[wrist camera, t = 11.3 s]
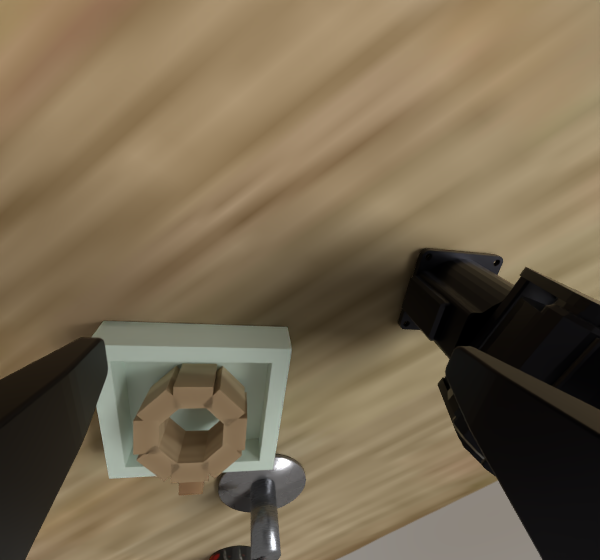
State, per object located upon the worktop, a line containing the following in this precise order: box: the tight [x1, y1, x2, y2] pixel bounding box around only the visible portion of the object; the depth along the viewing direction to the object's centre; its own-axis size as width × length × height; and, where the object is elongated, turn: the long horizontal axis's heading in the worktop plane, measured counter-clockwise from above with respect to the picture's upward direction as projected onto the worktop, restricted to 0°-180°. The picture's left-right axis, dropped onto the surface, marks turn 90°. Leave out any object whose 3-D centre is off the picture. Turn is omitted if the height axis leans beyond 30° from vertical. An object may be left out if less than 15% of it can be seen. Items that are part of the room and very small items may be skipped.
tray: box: [92, 321, 292, 479], centre depth 23 cm, size 12×12×3 cm
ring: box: [133, 363, 247, 495], centre depth 22 cm, size 7×9×3 cm
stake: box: [218, 454, 306, 560], centre depth 28 cm, size 8×8×6 cm
